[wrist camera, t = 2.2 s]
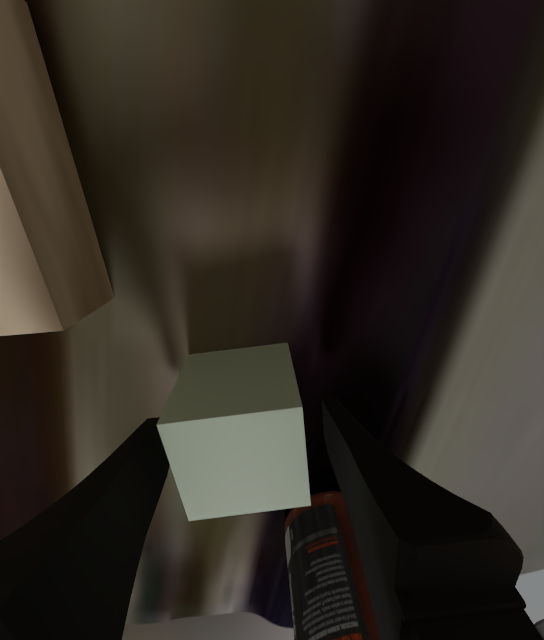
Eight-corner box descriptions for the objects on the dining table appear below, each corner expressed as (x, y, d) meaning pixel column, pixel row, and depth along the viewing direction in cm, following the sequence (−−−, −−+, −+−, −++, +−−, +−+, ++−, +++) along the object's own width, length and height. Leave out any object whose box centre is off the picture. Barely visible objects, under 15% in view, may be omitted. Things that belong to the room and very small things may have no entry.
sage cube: (208, 430, 16) (188, 520, 11) (189, 353, 14) (156, 424, 10) (295, 419, 16) (310, 505, 12) (287, 341, 14) (302, 406, 10)
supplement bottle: (266, 528, 19) (277, 906, 9) (315, 473, 18) (400, 862, 7) (336, 552, 21) (416, 903, 10) (388, 503, 19) (547, 865, 9)
